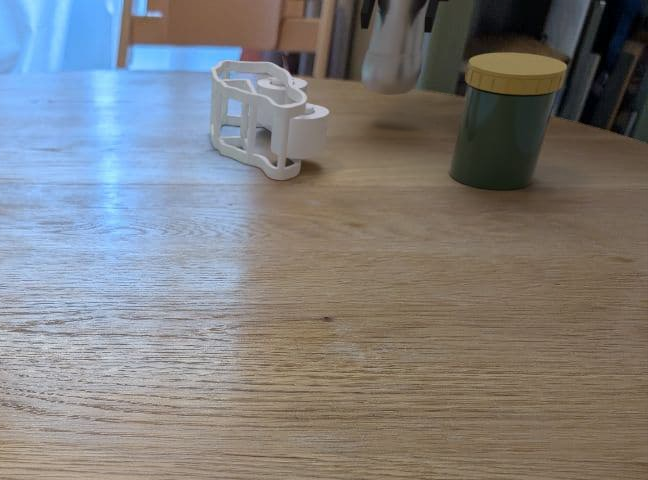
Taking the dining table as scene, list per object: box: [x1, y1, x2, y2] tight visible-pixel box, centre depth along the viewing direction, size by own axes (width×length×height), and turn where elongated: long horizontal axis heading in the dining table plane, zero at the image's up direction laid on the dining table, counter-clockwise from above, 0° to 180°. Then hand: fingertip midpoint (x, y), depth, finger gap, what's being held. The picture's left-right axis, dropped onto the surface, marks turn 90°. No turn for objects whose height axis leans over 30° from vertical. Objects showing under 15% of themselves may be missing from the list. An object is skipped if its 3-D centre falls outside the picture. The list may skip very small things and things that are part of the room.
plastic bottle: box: [361, 0, 429, 96], centre depth 94 cm, size 6×7×20 cm
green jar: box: [448, 83, 558, 191], centre depth 84 cm, size 8×8×10 cm
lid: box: [464, 52, 568, 95], centre depth 81 cm, size 9×9×2 cm
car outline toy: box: [209, 59, 330, 181], centre depth 93 cm, size 20×11×7 cm, turn 1°
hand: (395, 22), depth 92 cm, fingers closed on plastic bottle, 6 cm apart
